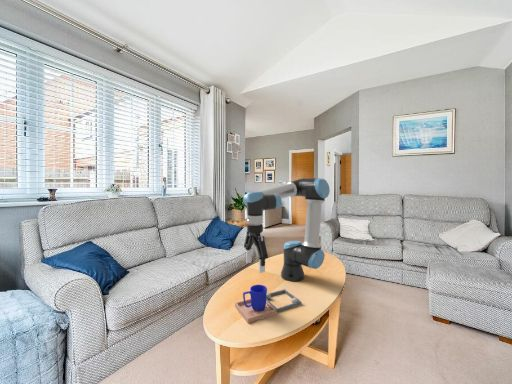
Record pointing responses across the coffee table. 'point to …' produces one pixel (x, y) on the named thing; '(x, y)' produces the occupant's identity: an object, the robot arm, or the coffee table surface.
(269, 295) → the pebble
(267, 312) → the terracotta dish
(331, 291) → the coffee table surface
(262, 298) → the mug
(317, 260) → the robot arm
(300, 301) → the slate bin
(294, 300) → the pebble
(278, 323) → the coffee table surface
